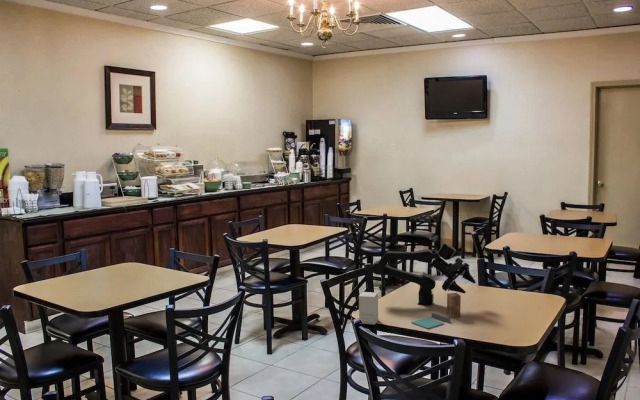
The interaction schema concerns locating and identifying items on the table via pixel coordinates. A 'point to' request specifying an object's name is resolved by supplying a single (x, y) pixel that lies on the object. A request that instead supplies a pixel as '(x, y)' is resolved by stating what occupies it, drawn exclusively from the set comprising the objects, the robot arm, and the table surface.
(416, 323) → the mat
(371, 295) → the supplement box
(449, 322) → the low wall
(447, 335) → the table surface
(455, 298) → the walnut pillar
